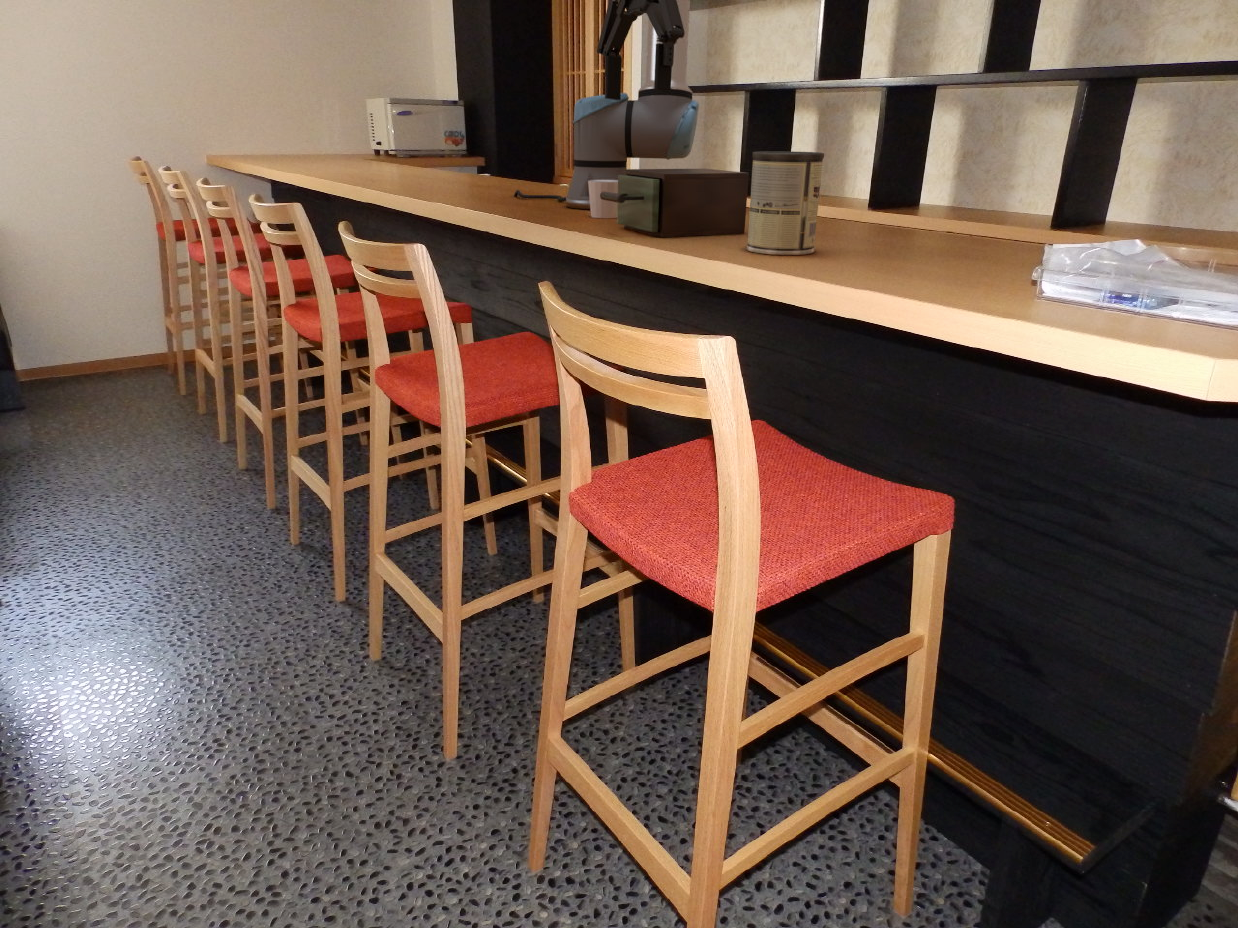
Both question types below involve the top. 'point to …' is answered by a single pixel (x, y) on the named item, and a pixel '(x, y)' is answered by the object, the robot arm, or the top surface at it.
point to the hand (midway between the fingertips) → (636, 95)
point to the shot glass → (596, 203)
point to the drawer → (637, 202)
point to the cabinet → (699, 201)
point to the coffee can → (784, 202)
